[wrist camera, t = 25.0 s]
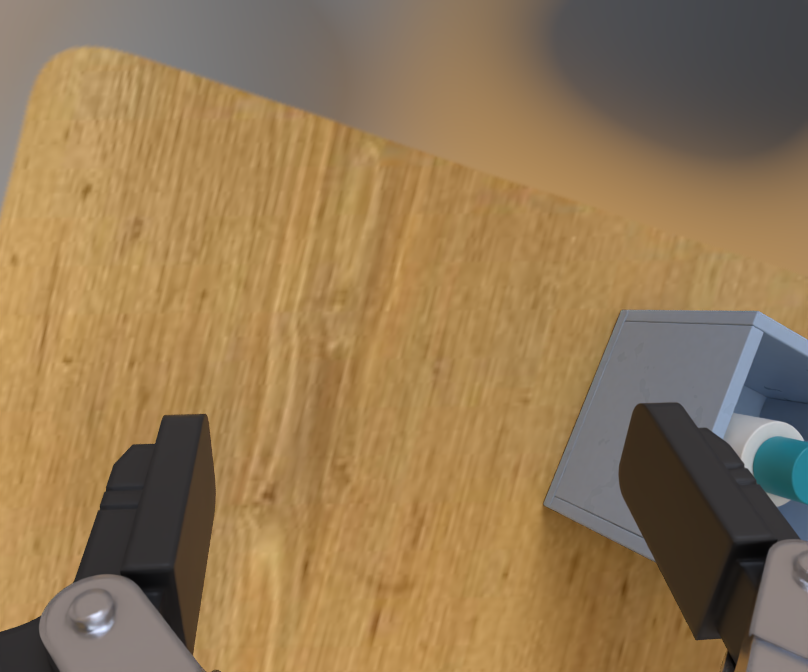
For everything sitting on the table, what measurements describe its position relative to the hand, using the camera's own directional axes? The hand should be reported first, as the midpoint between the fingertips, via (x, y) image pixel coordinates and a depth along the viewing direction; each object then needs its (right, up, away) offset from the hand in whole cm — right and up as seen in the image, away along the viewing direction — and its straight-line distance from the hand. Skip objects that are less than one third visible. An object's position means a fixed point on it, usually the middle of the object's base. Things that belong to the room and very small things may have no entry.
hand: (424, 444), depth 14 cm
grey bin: (+14, -4, +28) cm, 31 cm away
